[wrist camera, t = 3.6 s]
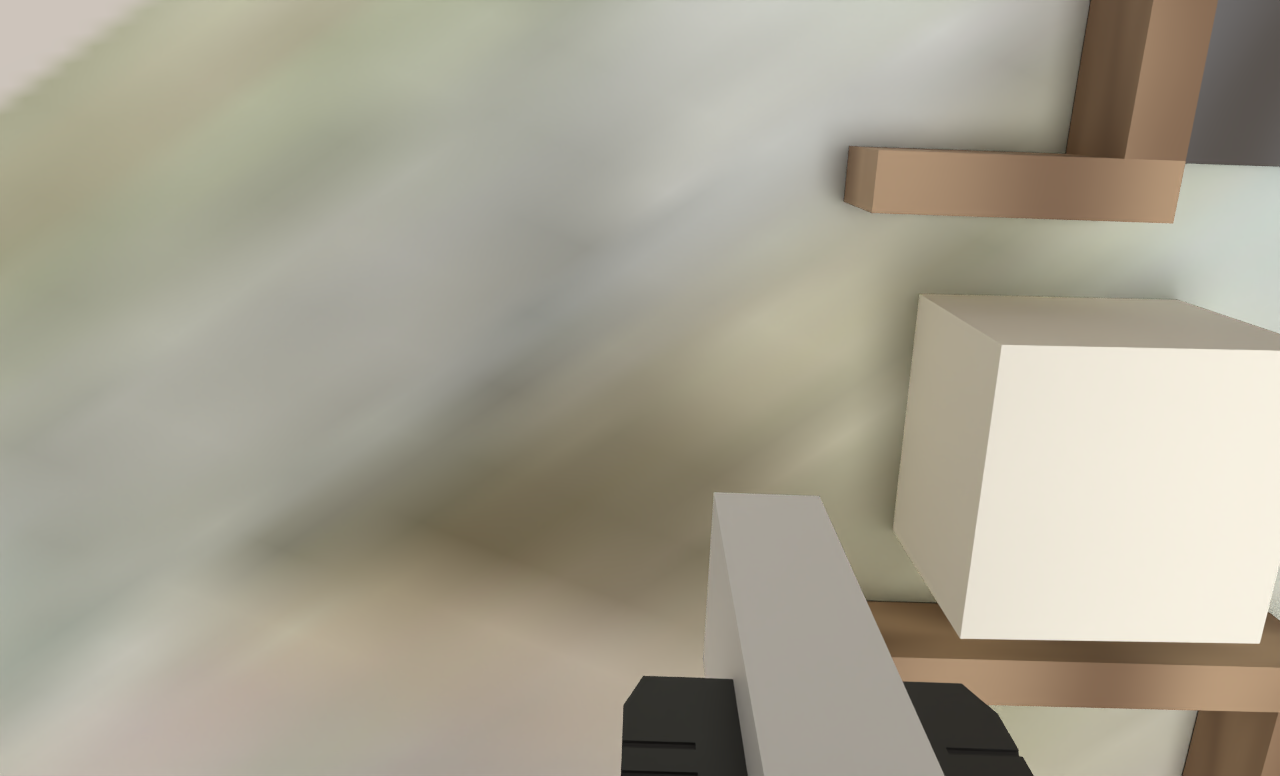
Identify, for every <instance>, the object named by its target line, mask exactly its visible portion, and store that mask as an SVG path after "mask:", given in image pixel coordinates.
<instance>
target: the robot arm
mask: <svg viewBox="0 0 1280 776" xmlns="http://www.w3.org/2000/svg"><path fill="white" fill-rule="evenodd" d="M703 662H704V672H705V678H688V677H658V676H643V677H642V679H641V680H640V682H639V683H638V685H637V686H636V688H635V689H634V691H633V692H632V693H631V695H630V696H629V698H628V699H627V701H626V702H625V704H624V708H623V736H622V764H621V776H1033V774H1032V772H1031V770H1030V769H1029V767H1028V765H1027V764H1026V762H1025V760H1024V758H1023V757H1019V754H1018V748H1017V746H1016V745H1015V743H1014V741H1013V739H1012V738H1011V736H1010V734H1009V733H1008V731H1007V729H1006V727H1005V726H1004V724H1003V722H1002V720H1001V719H1000V717H999V715H998V714H997V713H996V712H995V711H994V710H992V709H991V708H990V707H989V706H988V705H987V704H985V703H984V702H983V701H982V700H981V699H979V698H978V697H977V696H976V695H975V694H974V693H972V692H971V691H970V690H969V689H968V688H967V687H965V686H964V685H963V684H962V683H937V682H906V681H902V679H901V677H900V675H899V673H898V670H897V668H896V666H895V664H894V662H893V659H892V657H891V655H890V653H889V650H888V648H887V646H886V644H885V641H884V639H883V637H882V635H881V632H880V630H879V628H878V626H877V623H876V621H875V619H874V617H873V615H872V612H871V610H870V608H869V606H868V603H867V601H866V599H865V597H864V594H863V592H862V590H861V588H860V585H859V583H858V581H857V579H856V577H855V574H854V572H853V570H852V568H851V565H850V563H849V561H848V559H847V556H846V554H845V552H844V550H843V547H842V545H841V543H840V541H839V538H838V536H837V534H836V532H835V530H834V527H833V525H832V523H831V521H830V518H829V516H828V514H827V512H826V509H825V507H824V505H823V503H822V500H821V498H820V496H808V495H779V494H749V493H720V492H714V498H713V513H712V529H711V544H710V560H709V576H708V591H707V607H706V622H705V638H704V654H703Z"/></svg>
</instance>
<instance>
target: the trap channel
mask: <svg viewBox="0 0 1280 776" xmlns="http://www.w3.org/2000/svg"><path fill="white" fill-rule="evenodd" d="M1185 163H1196V164H1224V165H1252V166H1280V0H1091V3H1090V9H1089V15H1088V21H1087V27H1086V33H1085V39H1084V45H1083V52H1082V58H1081V64H1080V70H1079V76H1078V82H1077V88H1076V94H1075V100H1074V106H1073V112H1072V119H1071V125H1070V131H1069V137H1068V143H1067V149H1066V154H1055V153H1027V152H999V151H971V150H943V149H915V148H887V147H859V146H849V153H848V164H847V174H846V184H845V194H844V202H846V203H849V204H851V205H854V206H856V207H858V208H861V209H863V210H866V211H868V212H871V213H890V214H918V215H947V216H976V217H1005V218H1034V219H1063V220H1091V221H1120V222H1149V223H1173V221H1174V216H1175V211H1176V206H1177V201H1178V197H1179V192H1180V187H1181V182H1182V177H1183V172H1184V167H1185ZM867 603H868V606H869V608H870V610H871V612H872V615H873V617H874V619H875V621H876V623H877V626H878V628H879V630H880V632H881V635H882V637H883V639H884V641H885V644H886V646H887V648H888V650H889V653H890V655H891V657H892V659H893V662H894V664H895V666H896V668H897V670H898V673H899V675H900V677H901V679H902V681H906V682H937V683H962V684H963V685H964V686H965V687H967V688H968V689H969V690H970V691H971V692H972V693H974V694H975V695H976V696H977V697H978V698H979V699H981V700H982V701H983V702H984V703H985V704H987V705H1013V706H1051V707H1089V708H1128V709H1166V710H1199V712H1198V716H1197V720H1196V724H1195V728H1194V732H1193V736H1192V740H1191V744H1190V748H1189V752H1188V756H1187V760H1186V764H1185V768H1184V772H1183V776H1280V620H1278V619H1277V618H1276V617H1274V616H1273V615H1272V614H1271V613H1267V617H1266V621H1265V625H1264V629H1263V633H1262V637H1261V641H1260V644H1252V643H1192V642H1131V641H1070V640H1009V639H960V638H959V636H958V635H957V633H956V631H955V630H954V628H953V627H952V625H951V623H950V622H949V620H948V619H947V617H946V615H945V614H944V612H943V611H942V609H941V607H940V606H939V604H938V603H907V602H871V601H867Z"/></svg>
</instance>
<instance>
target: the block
mask: <svg viewBox="0 0 1280 776" xmlns="http://www.w3.org/2000/svg"><path fill="white" fill-rule="evenodd" d="M893 532H894V534H895V535H896V537H897V539H898V540H899V542H900V543H901V545H902V547H903V548H904V550H905V551H906V553H907V555H908V556H909V558H910V559H911V561H912V563H913V564H914V566H915V567H916V569H917V571H918V572H919V574H920V575H921V577H922V579H923V580H924V582H925V583H926V585H927V587H928V588H929V590H930V591H931V593H932V595H933V596H934V598H935V599H936V601H937V603H938V604H939V606H940V607H941V609H942V611H943V612H944V614H945V615H946V617H947V619H948V620H949V622H950V623H951V625H952V627H953V628H954V630H955V631H956V633H957V635H958V636H959V638H960V639H1009V640H1070V641H1131V642H1192V643H1252V644H1260V641H1261V637H1262V633H1263V629H1264V625H1265V621H1266V617H1267V613H1268V609H1269V605H1270V601H1271V597H1272V593H1273V589H1274V585H1275V581H1276V577H1277V573H1278V569H1279V565H1280V334H1279V333H1276V332H1273V331H1270V330H1267V329H1264V328H1261V327H1258V326H1255V325H1252V324H1249V323H1246V322H1243V321H1240V320H1237V319H1234V318H1231V317H1228V316H1225V315H1222V314H1219V313H1216V312H1213V311H1210V310H1207V309H1204V308H1201V307H1198V306H1195V305H1192V304H1189V303H1186V302H1183V301H1180V300H1177V299H1135V298H1089V297H1043V296H997V295H951V294H919V301H918V310H917V319H916V328H915V337H914V345H913V354H912V363H911V372H910V381H909V390H908V399H907V407H906V416H905V425H904V434H903V443H902V452H901V461H900V470H899V478H898V487H897V496H896V505H895V514H894V523H893Z"/></svg>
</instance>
